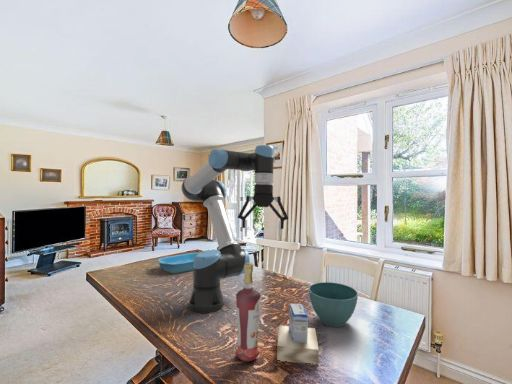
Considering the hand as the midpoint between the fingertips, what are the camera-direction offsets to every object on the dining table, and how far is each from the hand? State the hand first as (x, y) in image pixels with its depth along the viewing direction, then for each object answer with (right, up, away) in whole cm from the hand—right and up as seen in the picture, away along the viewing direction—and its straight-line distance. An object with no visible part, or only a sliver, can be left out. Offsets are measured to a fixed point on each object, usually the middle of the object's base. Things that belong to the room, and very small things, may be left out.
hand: (262, 236), depth 104 cm
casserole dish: (-50, -33, +67) cm, 90 cm away
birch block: (+10, -33, -23) cm, 41 cm away
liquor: (-5, -32, -27) cm, 42 cm away
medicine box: (+11, -28, -22) cm, 37 cm away
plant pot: (+27, -33, -4) cm, 43 cm away
